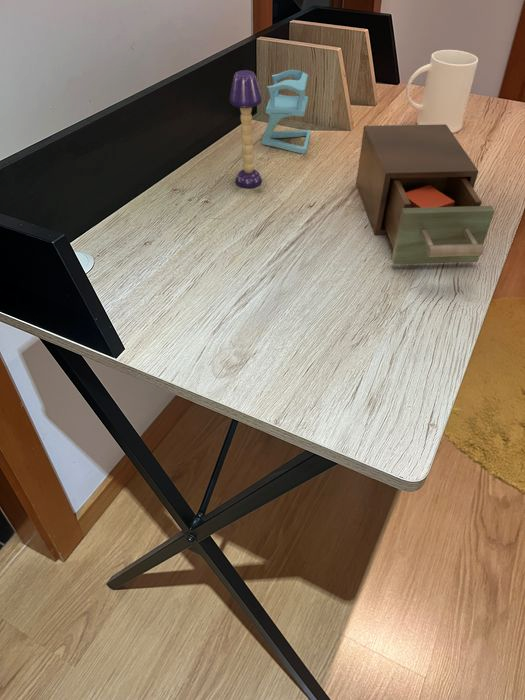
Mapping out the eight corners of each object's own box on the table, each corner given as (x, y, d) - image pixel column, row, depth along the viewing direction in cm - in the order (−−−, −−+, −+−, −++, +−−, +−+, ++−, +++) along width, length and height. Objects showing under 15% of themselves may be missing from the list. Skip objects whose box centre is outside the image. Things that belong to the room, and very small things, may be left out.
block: (394, 225, 80) (401, 193, 76) (421, 216, 82) (429, 184, 78) (418, 243, 77) (426, 211, 73) (446, 233, 79) (455, 201, 75)
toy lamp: (232, 188, 91) (229, 79, 79) (231, 174, 94) (228, 67, 82) (262, 188, 91) (264, 78, 79) (260, 173, 94) (261, 66, 82)
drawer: (490, 285, 73) (509, 232, 67) (402, 288, 72) (414, 235, 66) (447, 208, 85) (460, 159, 80) (372, 210, 85) (380, 161, 79)
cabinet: (460, 232, 83) (478, 170, 76) (374, 235, 82) (385, 173, 75) (432, 182, 93) (446, 124, 86) (355, 184, 92) (363, 125, 85)
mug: (402, 132, 106) (415, 64, 97) (396, 114, 112) (408, 47, 103) (466, 134, 106) (484, 66, 97) (457, 115, 112) (473, 49, 103)
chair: (265, 131, 106) (267, 62, 97) (310, 135, 105) (315, 66, 96) (259, 150, 100) (259, 79, 92) (306, 154, 99) (311, 82, 91)
